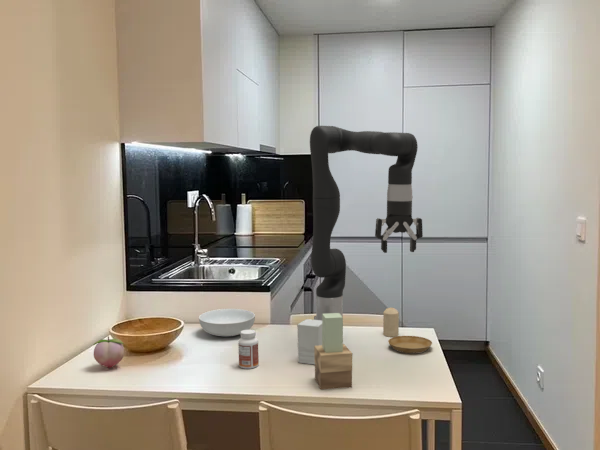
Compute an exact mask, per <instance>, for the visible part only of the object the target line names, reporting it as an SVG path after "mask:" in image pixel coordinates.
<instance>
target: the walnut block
mask: <svg viewBox="0 0 600 450" xmlns="http://www.w3.org/2000/svg"><path fill="white" fill-rule="evenodd" d="M314 379H315V381H316V384H317V385H318V387H319V389H320V390H332V389H333V390H334V389H349V387H351V388H353V370H352V371H340V372H326V373H321V372H320V370H319V369H318V367H317V366H316V364H315V365H314Z"/></svg>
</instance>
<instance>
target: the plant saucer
mask: <svg viewBox="0 0 600 450" xmlns="http://www.w3.org/2000/svg"><path fill="white" fill-rule="evenodd" d="M387 343H388V344H389V345H390V346H391V348H393V349H394V350H395V351H397V352H399V353H404V354H421V353H424V352H426V351H427V350H428V349H429V348H431V346H432V345H433V341H432V340H430V339H429V338H426V337H421V336H417V335H416V336H415V335H398V336H396V337H390V338H389V339H388V340H387Z"/></svg>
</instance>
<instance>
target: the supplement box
mask: <svg viewBox="0 0 600 450" xmlns="http://www.w3.org/2000/svg"><path fill="white" fill-rule="evenodd" d="M296 326H297V362H298V363H301V364H308V365H314V366H315V362H314V346H319V345H322V320H314V319H310V318H305V319H304V320H302V321H301V322H299V323H298V324H297V325H296Z"/></svg>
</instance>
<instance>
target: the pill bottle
mask: <svg viewBox="0 0 600 450" xmlns="http://www.w3.org/2000/svg"><path fill="white" fill-rule="evenodd" d="M256 333H257V332H256V330H254V329H249V330H243V331H241V334H240V338H239V339H238V342H237V343H238V344H237V345H238V366H239V368H241V369H244V370H245V369H246V370H247V369H248V370H250V369H255V368H257V367H258V366H259V362H260V361H259V357H260V355H259V340H258V338H257V337H256Z"/></svg>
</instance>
